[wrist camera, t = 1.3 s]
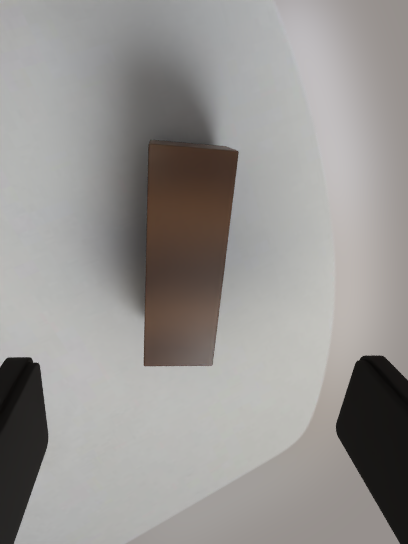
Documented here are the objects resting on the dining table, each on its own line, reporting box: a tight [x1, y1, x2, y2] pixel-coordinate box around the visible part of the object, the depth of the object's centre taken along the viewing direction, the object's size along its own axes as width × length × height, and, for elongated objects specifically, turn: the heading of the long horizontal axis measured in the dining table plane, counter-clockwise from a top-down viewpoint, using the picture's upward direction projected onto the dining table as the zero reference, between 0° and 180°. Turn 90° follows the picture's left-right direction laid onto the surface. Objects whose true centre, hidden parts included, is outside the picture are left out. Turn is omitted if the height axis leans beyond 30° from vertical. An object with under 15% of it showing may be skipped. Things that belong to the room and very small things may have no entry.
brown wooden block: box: [144, 140, 239, 366], centre depth 19 cm, size 12×4×4 cm, turn 175°
